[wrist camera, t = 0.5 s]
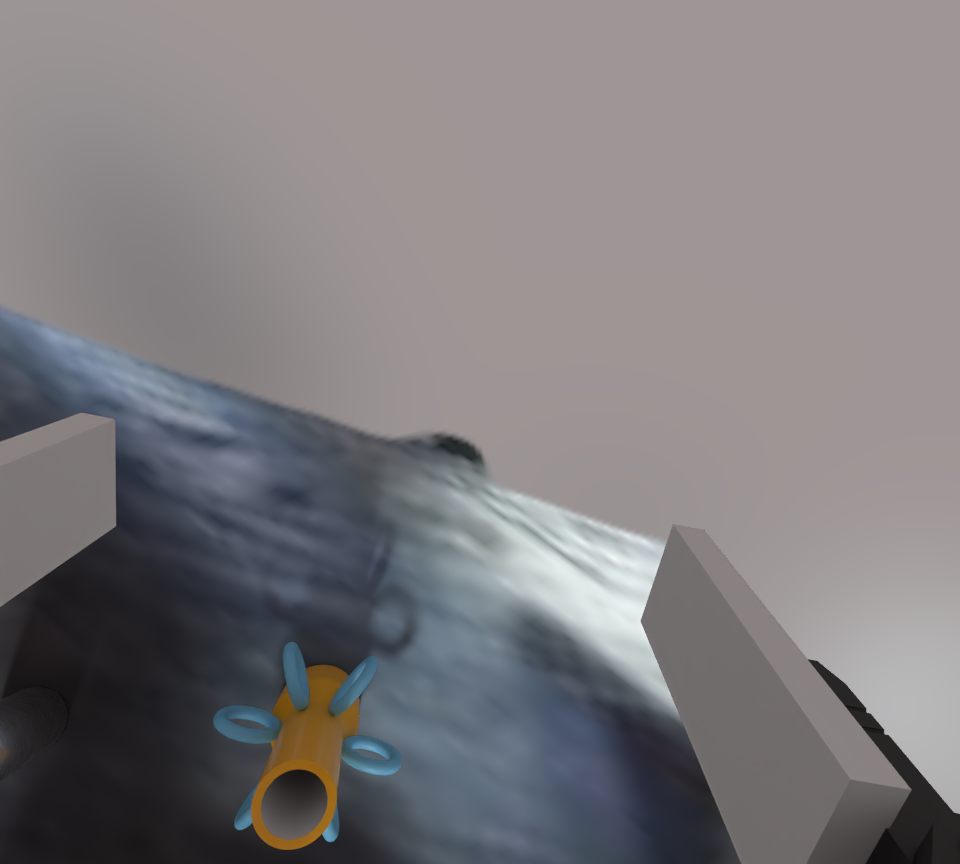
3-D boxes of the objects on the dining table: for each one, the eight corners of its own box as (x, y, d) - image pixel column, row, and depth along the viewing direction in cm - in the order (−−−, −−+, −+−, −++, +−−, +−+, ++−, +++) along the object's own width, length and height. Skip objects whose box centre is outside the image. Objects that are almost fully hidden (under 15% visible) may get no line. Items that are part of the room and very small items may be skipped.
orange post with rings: (228, 647, 40) (151, 717, 26) (366, 603, 43) (367, 644, 28) (265, 816, 39) (207, 988, 25) (406, 760, 42) (428, 887, 27)
